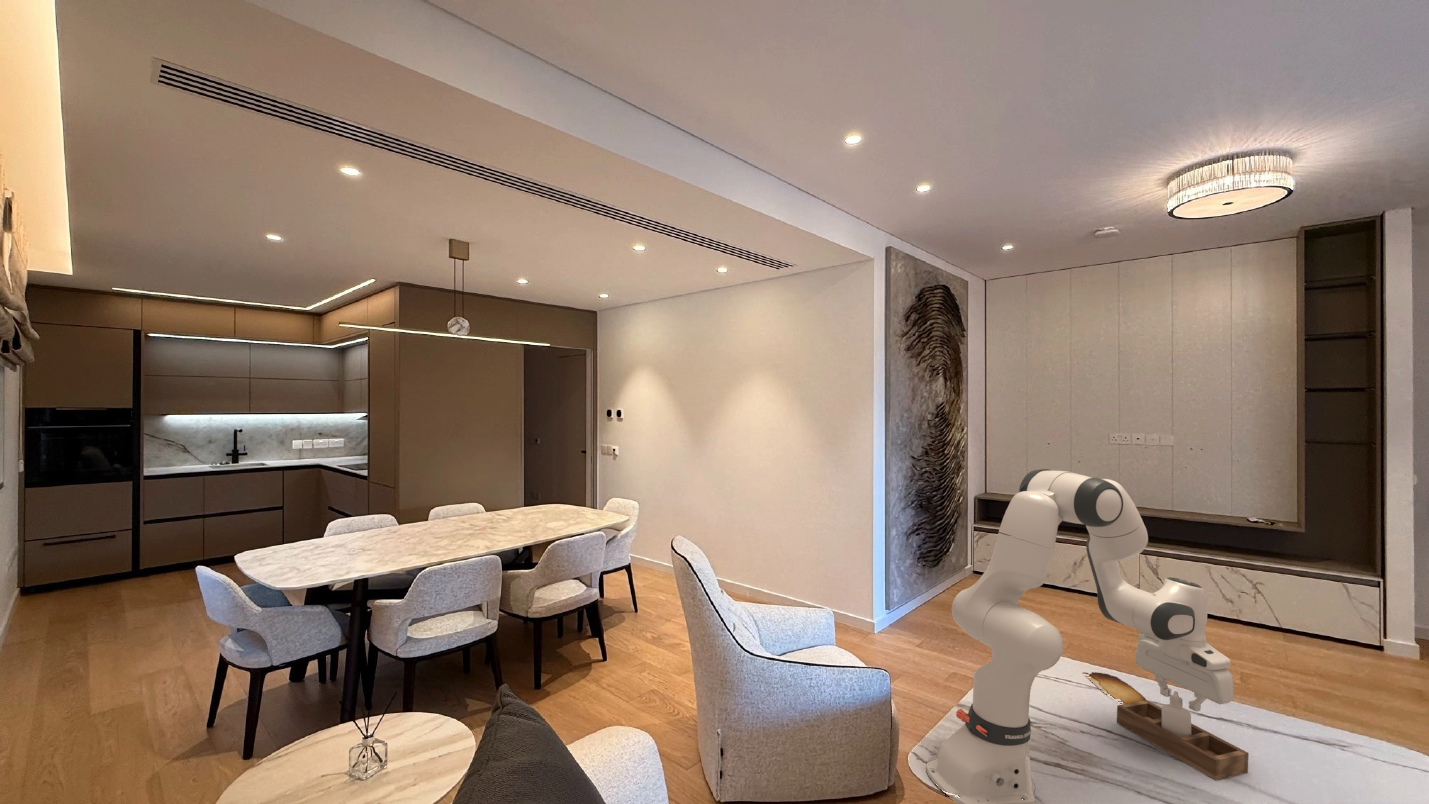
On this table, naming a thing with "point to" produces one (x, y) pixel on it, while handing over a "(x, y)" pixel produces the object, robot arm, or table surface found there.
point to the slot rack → (1184, 742)
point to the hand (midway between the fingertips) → (1179, 702)
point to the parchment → (1115, 687)
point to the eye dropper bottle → (1176, 717)
